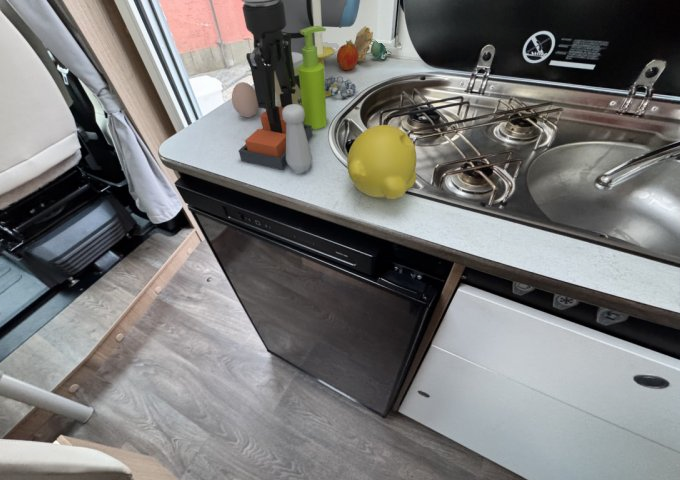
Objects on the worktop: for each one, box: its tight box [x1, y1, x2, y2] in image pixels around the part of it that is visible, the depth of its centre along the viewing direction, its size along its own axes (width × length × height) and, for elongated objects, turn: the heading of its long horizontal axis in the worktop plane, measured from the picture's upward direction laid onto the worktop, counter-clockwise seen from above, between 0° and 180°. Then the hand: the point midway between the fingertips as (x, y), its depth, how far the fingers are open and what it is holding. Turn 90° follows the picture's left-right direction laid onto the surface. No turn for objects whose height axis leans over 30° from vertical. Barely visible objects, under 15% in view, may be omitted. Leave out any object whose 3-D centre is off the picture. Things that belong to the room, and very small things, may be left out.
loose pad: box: [259, 106, 304, 134], centre depth 70 cm, size 6×8×4 cm
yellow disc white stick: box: [312, 0, 339, 98], centre depth 79 cm, size 10×10×27 cm
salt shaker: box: [282, 104, 313, 174], centre depth 61 cm, size 6×6×13 cm
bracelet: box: [324, 75, 357, 98], centre depth 87 cm, size 10×10×2 cm
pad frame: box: [238, 123, 313, 171], centre depth 70 cm, size 16×11×3 cm
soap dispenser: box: [298, 26, 328, 130], centre depth 70 cm, size 6×7×20 cm
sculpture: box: [346, 124, 418, 200], centre depth 55 cm, size 15×13×13 cm
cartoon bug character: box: [346, 25, 392, 62], centre depth 101 cm, size 10×18×15 cm
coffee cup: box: [267, 52, 303, 107], centre depth 80 cm, size 9×9×12 cm
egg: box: [231, 81, 260, 118], centre depth 79 cm, size 7×7×8 cm
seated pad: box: [244, 128, 286, 157], centre depth 67 cm, size 6×8×4 cm
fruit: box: [336, 40, 359, 72], centre depth 96 cm, size 7×7×8 cm
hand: (283, 128), depth 71 cm, fingers closed on loose pad, 5 cm apart
